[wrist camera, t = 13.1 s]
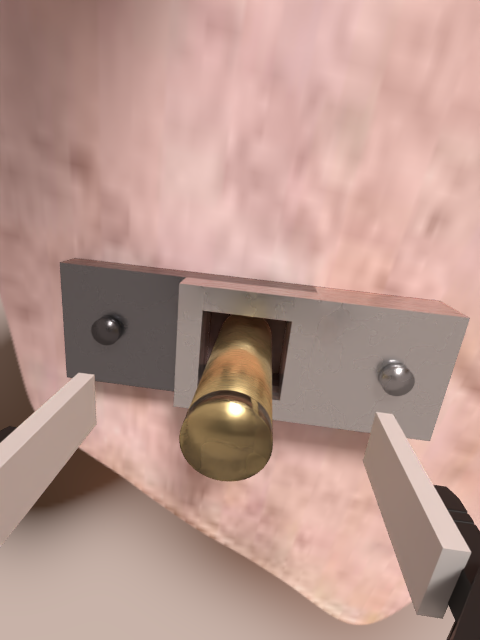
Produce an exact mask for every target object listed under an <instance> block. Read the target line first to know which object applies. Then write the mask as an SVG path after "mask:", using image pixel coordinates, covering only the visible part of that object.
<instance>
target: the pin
mask: <svg viewBox="0 0 480 640" xmlns="http://www.w3.org/2000/svg"><path fill="white" fill-rule="evenodd" d="M179 441H180V448H181V451H182V453H183V455H184V457H185V459H186V460H187V462H188V463H189V464H190V465H191V466H192V467H193V468H194V469H195V470H197V471H198V472H199V473H201V474H203V475H205V476H207V477H209V478H212V479H215V480H220V481H239V480H243V479H247V478H249V477H251V476H253V475H255V474H257V473H258V472H259V471H260V470H262V469H263V468H264V466H265V465H266V464H267V462H268V461H269V459H270V456H271V453H272V446H273V432H272V336H271V329H270V327H269V325H268V323H267V322H266V320H265V319H264V318H260V317H251V316H243V315H235V314H232V315H231V316H229V317H228V318H227V319H226V320H225V321H224V323H223V325H222V327H221V329H220V332H219V334H218V337H217V339H216V342H215V344H214V347H213V349H212V352H211V354H210V357H209V359H208V362H207V364H206V367H205V370H204V372H203V375H202V377H201V380H200V382H199V385H198V387H197V390H196V392H195V395H194V397H193V400H192V402H191V405H190V407H189V410H188V412H187V415H186V417H185V420H184V422H183V425H182V427H181V431H180V436H179Z"/></svg>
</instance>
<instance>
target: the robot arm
mask: <svg viewBox="0 0 480 640" xmlns="http://www.w3.org/2000/svg"><path fill="white" fill-rule="evenodd" d="M95 425H96V401H95V376H94V375H93V374H85V373H78V374H77V375H75V376H74V377H73V378H72V379H71V380H70V381H69V382H68V383H67V384H65V385H64V386H63V387H62V388H61V389H60V390H59V391H58V392H57V393H55V394H54V395H53V396H52V397H51V398H50V399H49V400H48V401H46V402H45V403H44V404H43V405H42V406H41V407H40V408H39V409H38V410H36V411H35V412H34V413H33V414H32V415H31V416H30V417H29V418H28V419H27V420H25V421H24V422H23V423H22V424H21V425H20V426H19V427H11V426H9V427H7V428H5V429H3V430H1V431H0V547H1V546H2V545H3V543H4V542H5V541H6V539H7V538H8V537H9V536H10V534H11V533H12V532H13V530H14V529H15V528H16V526H17V525H18V524H19V522H20V521H21V520H22V519H23V518H24V516H25V515H26V514H27V512H28V511H29V510H30V509H31V507H32V506H33V505H34V503H35V502H36V501H37V500H38V498H39V497H40V496H41V494H42V493H43V492H44V491H45V489H46V488H47V487H48V486H49V484H50V483H51V482H52V480H53V479H54V478H55V477H56V475H57V474H58V473H59V471H60V470H61V469H62V468H63V466H64V465H65V464H66V462H67V461H68V460H69V459H70V457H71V456H72V455H73V453H74V452H75V451H76V450H77V448H78V447H79V446H80V445H81V443H82V442H83V441H84V439H85V438H86V437H87V436H88V434H89V433H90V432H91V430H92V429H93V428H94V427H95ZM363 463H364V466H365V469H366V471H367V474H368V477H369V480H370V483H371V486H372V489H373V491H374V494H375V497H376V500H377V503H378V506H379V508H380V511H381V514H382V517H383V520H384V523H385V526H386V528H387V531H388V534H389V537H390V540H391V543H392V546H393V548H394V551H395V554H396V557H397V560H398V563H399V566H400V568H401V571H402V574H403V577H404V580H405V583H406V585H407V588H408V591H409V594H410V597H411V600H412V603H413V605H414V608H415V611H416V614H417V615H422V616H429V617H435V618H443V616H444V614H445V612H446V610H447V607H448V605H449V607H450V609H451V612H452V614H453V616H454V618H455V622H454V624H453V626H452V629H451V631H450V633H449V635H448V637H447V640H480V531H479V529H478V528H477V526H476V525H474V522H473V520H472V518H471V517H470V515H469V514H467V510H466V509H465V507H464V506H463V504H462V502H461V501H460V499H459V498H458V497H457V496H456V495H455V494H454V493H453V492H451V491H450V490H449V489H448V488H447V487H444V486H437V485H433V484H432V482H431V480H430V479H429V477H428V475H427V473H426V472H425V470H424V468H423V466H422V464H421V463H420V461H419V459H418V457H417V456H416V454H415V452H414V450H413V449H412V447H411V445H410V443H409V442H408V440H407V438H406V436H405V435H404V433H403V431H402V429H401V427H400V426H399V424H398V422H397V420H396V419H395V417H394V415H393V414H388V413H380V412H376V413H375V417H374V421H373V425H372V428H371V432H370V436H369V440H368V443H367V447H366V451H365V455H364V459H363Z"/></svg>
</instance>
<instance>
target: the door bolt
mask: <svg viewBox="0 0 480 640" xmlns="http://www.w3.org/2000/svg"><path fill="white" fill-rule="evenodd" d="M60 274H61V290H62V306H63V322H64V338H65V354H66V370H67V377H70V378H73V377H74V376H75V375H77V374H78V373H85V374H93V375H94V376H95V381H100V382H107V383H115V384H122V385H130V386H137V387H145V388H152V389H160V390H167V391H174V407H182V408H189V407H190V405H191V402H192V400H193V397H194V395H195V392H196V390H197V387H198V385H199V382H200V380H201V377H202V375H203V372H204V370H205V367H206V364H207V357H208V344H209V331H210V319H211V312H219V313H227V314H235V315H243V316H251V317H260V318H268V319H276V320H284V321H287V322H286V329H285V336H284V342H283V349H282V356H281V362H280V369H279V374H273V373H272V420H278V421H285V422H292V423H300V424H307V425H314V426H322V427H329V428H336V429H344V430H351V431H359V432H366V433H370V432H371V428H372V425H373V421H374V417H375V413H376V412H380V413H388V414H393V415H394V417H395V419H396V420H397V422H398V424H399V426H400V427H401V429H402V431H403V433H404V435H405V436H406V438H410V439H417V440H425V441H430V439H431V436H432V433H433V430H434V427H435V424H436V421H437V418H438V415H439V411H440V408H441V405H442V402H443V399H444V396H445V393H446V390H447V387H448V384H449V381H450V378H451V375H452V371H453V368H454V365H455V362H456V359H457V356H458V353H459V350H460V347H461V344H462V341H463V338H464V335H465V332H466V328H467V325H468V322H469V319H470V318H469V317H467V316H466V315H464V314H462V313H460V312H459V311H457V310H455V309H453V308H452V307H450V306H448V305H446V304H445V303H443V302H441V301H436V300H428V299H419V298H411V297H402V296H394V295H385V294H377V293H368V292H359V291H351V290H342V289H334V288H325V287H317V286H308V285H300V284H291V283H282V282H274V281H265V280H257V279H248V278H240V277H231V276H223V275H214V274H205V273H197V272H188V271H180V270H171V269H163V268H154V267H146V266H137V265H129V264H120V263H111V262H103V261H94V260H86V259H77V258H74V259H70V260H67V261H63V262H60Z"/></svg>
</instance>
